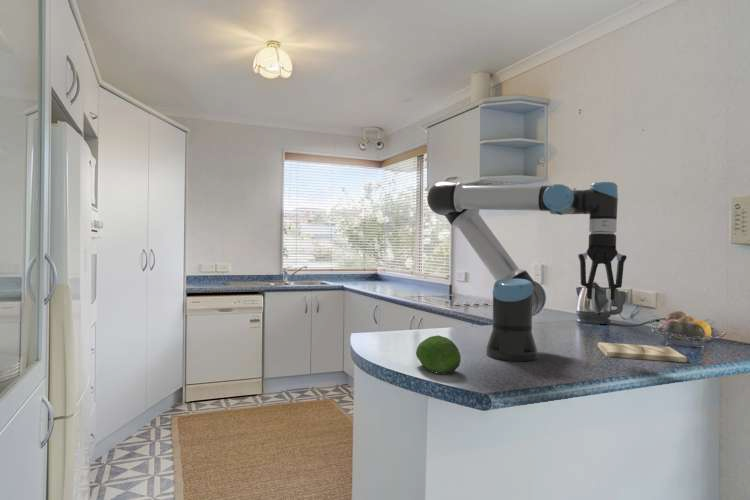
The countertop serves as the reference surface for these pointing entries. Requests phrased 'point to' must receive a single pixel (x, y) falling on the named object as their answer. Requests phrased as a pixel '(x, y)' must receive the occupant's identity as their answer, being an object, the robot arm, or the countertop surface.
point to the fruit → (438, 354)
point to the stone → (599, 298)
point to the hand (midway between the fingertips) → (599, 310)
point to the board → (641, 352)
